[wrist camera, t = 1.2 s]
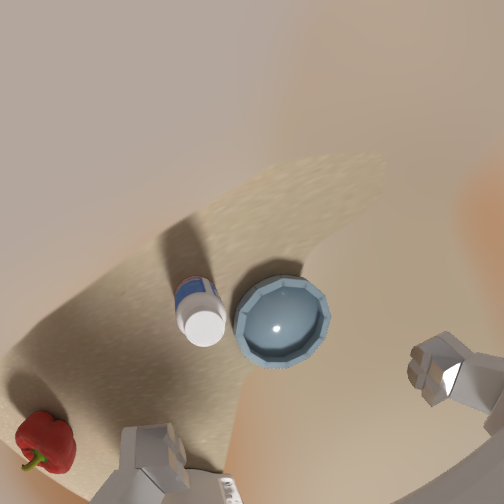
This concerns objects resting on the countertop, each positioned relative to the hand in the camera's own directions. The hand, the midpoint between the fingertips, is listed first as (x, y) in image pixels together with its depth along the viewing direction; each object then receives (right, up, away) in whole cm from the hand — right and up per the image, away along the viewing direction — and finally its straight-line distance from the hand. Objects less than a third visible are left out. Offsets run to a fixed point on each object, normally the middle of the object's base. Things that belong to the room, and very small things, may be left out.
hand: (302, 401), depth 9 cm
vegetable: (-35, -24, +28) cm, 51 cm away
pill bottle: (-9, -1, +30) cm, 31 cm away
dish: (+2, -5, +33) cm, 34 cm away
